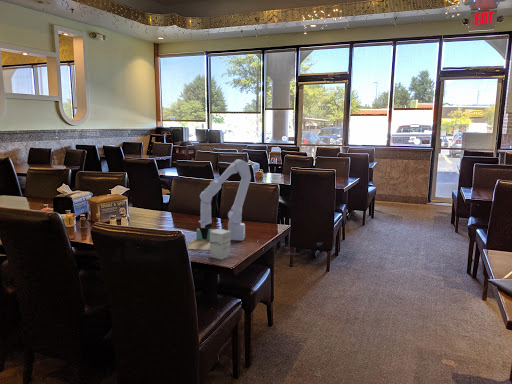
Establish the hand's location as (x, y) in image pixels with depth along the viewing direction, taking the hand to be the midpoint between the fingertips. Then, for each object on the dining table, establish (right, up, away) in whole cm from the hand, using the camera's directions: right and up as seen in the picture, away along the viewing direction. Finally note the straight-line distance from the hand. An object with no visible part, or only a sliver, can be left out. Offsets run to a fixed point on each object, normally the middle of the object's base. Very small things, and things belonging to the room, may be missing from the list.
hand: (205, 237), depth 205 cm
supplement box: (+10, -6, -26) cm, 29 cm away
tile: (0, -2, 0) cm, 2 cm away
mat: (0, -3, -9) cm, 10 cm away
